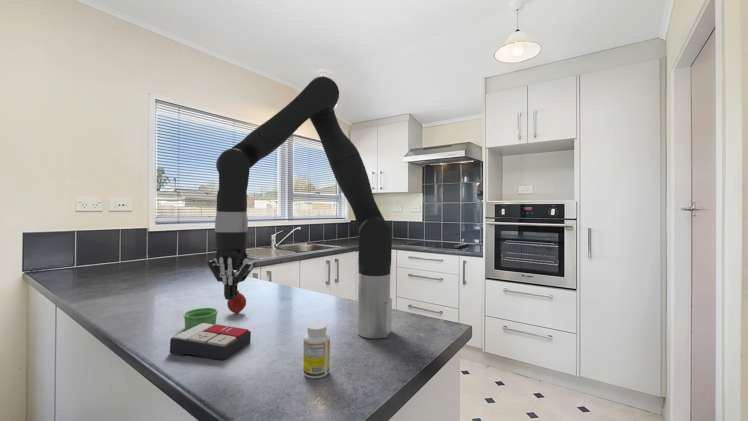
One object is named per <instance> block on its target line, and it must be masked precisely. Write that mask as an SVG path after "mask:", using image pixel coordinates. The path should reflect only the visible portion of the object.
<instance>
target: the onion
mask: <svg viewBox="0 0 748 421" xmlns="http://www.w3.org/2000/svg"><path fill="white" fill-rule="evenodd" d="M226 303H227V308H228V310H229V311H230V312H232V313H233V314H235V315H239V314H240V313H241V312H242V311H243V310H244V308H246V305H247V299H246V297H245V295H244V294H242V293H241V292H240V290H238V289H237V297H236V298H235V299H233V300H227V302H226Z"/></svg>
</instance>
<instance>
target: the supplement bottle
mask: <svg viewBox="0 0 748 421" xmlns="http://www.w3.org/2000/svg"><path fill="white" fill-rule="evenodd" d="M330 336H331V335H330V334H329V332H327V325H326V324H325V323H322V322H313V323H310V324H308V325H307V333H306V334H304V336H303V374H304V376H306V377H307V378H308V379H309V378H310V379H320V378H324V377H325V376H327V375H328V374H329V372H330V368H331V367H330V354H331V352H330V349H331V345H330V344H331V337H330Z"/></svg>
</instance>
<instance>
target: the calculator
mask: <svg viewBox="0 0 748 421" xmlns="http://www.w3.org/2000/svg"><path fill="white" fill-rule="evenodd" d="M251 337H252V331H251V330H249V329H247V328H242V327H235V326H230V325H223V324H217V323H216V324H215V325H213V324H207V323H201V324H199V325H197V326H195V327H193V328H191V329H189V330H186V329H185V331H183V332H180V333H178V334H176V335H174V336H173V337H171V338H170V342H169V354H173V355H178V356H184V355H185V354H187V355H192V356H197V357H204V358H209V359H214V360H221V361H225V360H227V359H228V358H230V357H231V356H233V355H234V354H235V353H237V352H239V351H240V350H241V349H242V348H245V346H247V345H249V344H250V343H251V339H252V338H251Z"/></svg>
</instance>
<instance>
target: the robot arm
mask: <svg viewBox="0 0 748 421" xmlns="http://www.w3.org/2000/svg"><path fill="white" fill-rule="evenodd" d="M339 98H340V90H339V87H338V85H337V83H336V82H335V80H333V79H332V78H330V77H327V76H317V77H314V78H313V79H311V81H310V82H309V83H307V85H306V86H305V87H304V88H303V90H301V92H300V93H299V94H298V95H296V97H295V98H294V99H293V100H291V101H290V102H289V103H288V104H287V105H285V107H283V108H282V109H281V110H279V111H278V112H276V113H275V114H273V115H272V116H271V117H270V118H269V119H267V120H266V121H264V122H262V124H260V125H259V126H257V127H256V128H255V129H254V130H252V131H251V132H249V133H248V134H247V135H246V136H245V137H244V138H243V139H242V140H241V141H239V142H238V143H237V144H235V145H233V147H230V148H228V149H226V150H223V152H221V153H220V155H219V157H217V159H216V163H215V166H216V171H217V172H218V190H217V194H216V212H215V221H214V249H215V250H216V253H215V255H214V257H215V258H213V259H212V260H208V261H207V266H208V267H209V270H210V271H211V272H212V275H213V276H214V278H215V279H216V281H217V282H218V283H219V282H221V283H222V285H223V286H224V287H223V296H224V299H225V301H226V300H227V301H228V300H233V299H235V298H236V297H237V290H238V284H239V283H242V282H245V280H246V279H247V278H248V276H249V275H250V273H251V272H252V271H253V269H254V268H255V266H256V263H255V262H253V261H252V262H251V261H250V260H249V259H248V254H247V252H246V251H247V248H248V241H249V240H248V238H249V237H248V233H249V232H248V229H249V228H248V225H249V224H248V223H249V221H248V220H249V218H248V213H247V212H248V197H247V196H248V195H247V194H248V193H247V192H248V187H249V179H250V169H251V168H252V167H253V166H254V165H256V164H257V163H258V162H259V161H260V160H262V159H264V158H266V157H268V156H269V155H270V154H272V153H273V152H274V151H276V150H277V149H278V148H280V146H282V145H283V144H284V143H285V142H286V141H288V140H289V138H290V137H292V135H293V134H294V133H295V132H296V131H297V130H298V129H299V128H300V127H301V126H302V125H303V124H304V123H305V122H307V121H308V120H310V122H311V123H312V125H313V127H314V129H315V131H316V133H317V136H318V137H319V140H320V143H321V146H322V147H323V150H324V153H325V156H326V158H327V161H328V162H329V166H330V169H331V171H332V173H333V176H334V178H335V180H336V182H337V184H338V187H339V189H340V190H341V192H342V193H343V196H344V198H345V199H346V201H347V202H348V204H349V205H350V207H351V210H352V213H353V216H354V217H355V221H356V225H357V229H358V253H357V254H358V257H357V258H358V259H357V260H358V261H357V262H358V275H357V276H358V279H357V282H358V285H357V335H359V336H361V337H362V338H366V339H375V340H376V339H388V336H390V334H391V332H392V324H393V323H392V322H393V321H392V317H393V316H392V315H393V314H392V312H393V310H392V308H393V299H392V298H391V268H392V252H393V251H392V250H393V248H392V247H393V246H392V243H393V242H392V241H393V240H392V239H393V231H392V228H391V226H390V224H389V223H388V222H387V221H386V220H385V218H384V216H383V214H382V212H381V210H380V209H379V206H378V204H377V203H376V200H375V197H374V195H373V191H372V190H373V189H372V186H371V182H370V178H369V174H368V172H367V169H366V166H365V164H364V161H363V159H362V157H361V155H360V152H359V150H358V149H357V146H355V144H354V143H353V141H352V140H351V139H350V138H349V137H348V136H347V135H346V134H345V133H344V132H343V129H342V128H341V126H340V124H339V121H338V119H337V116H336V112H335V107H336V105H337V104H338V101H339Z"/></svg>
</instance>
